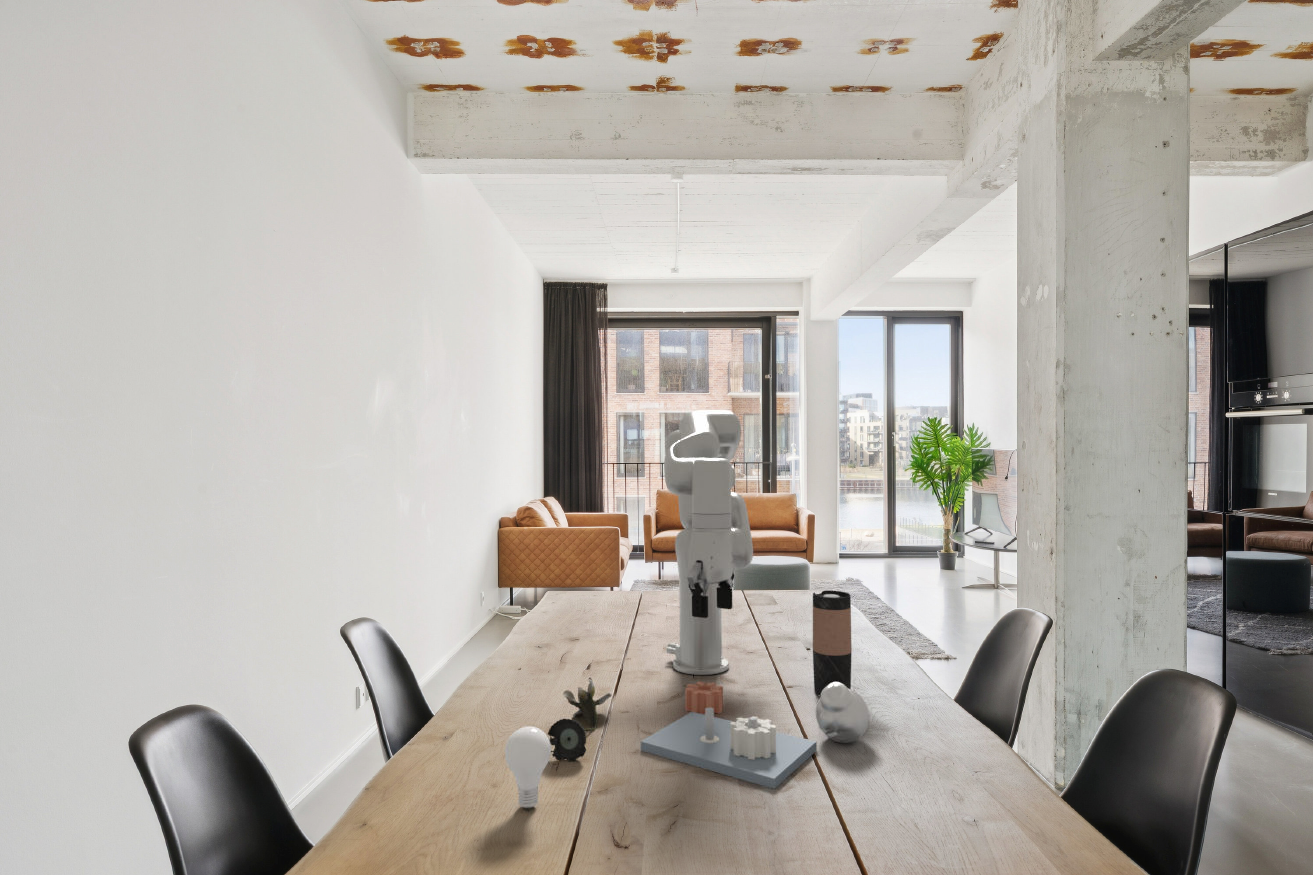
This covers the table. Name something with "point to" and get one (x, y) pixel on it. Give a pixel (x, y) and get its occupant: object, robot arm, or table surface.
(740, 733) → the cream gear
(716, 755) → the gear board
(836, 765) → the table surface
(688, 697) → the terracotta gear
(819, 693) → the travel mug
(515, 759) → the lightbulb
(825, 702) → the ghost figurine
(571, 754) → the artificial flower
